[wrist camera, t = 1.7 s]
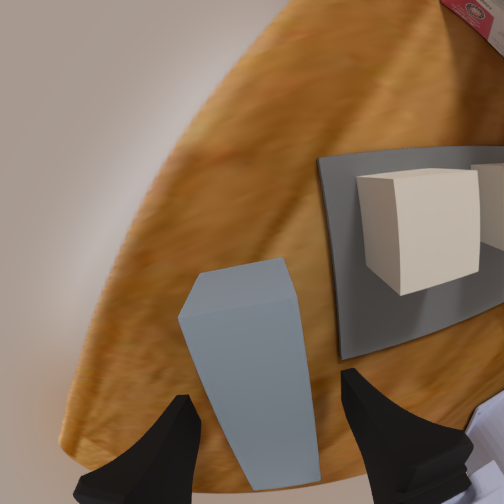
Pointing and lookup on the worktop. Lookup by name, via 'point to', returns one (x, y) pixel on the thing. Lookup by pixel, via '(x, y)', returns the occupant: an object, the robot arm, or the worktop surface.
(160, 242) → the worktop surface
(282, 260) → the lintel
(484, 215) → the post
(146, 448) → the robot arm
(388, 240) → the post
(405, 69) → the worktop surface
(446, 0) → the ink box
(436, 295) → the mat
